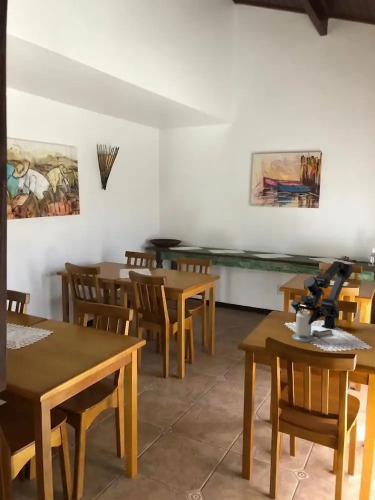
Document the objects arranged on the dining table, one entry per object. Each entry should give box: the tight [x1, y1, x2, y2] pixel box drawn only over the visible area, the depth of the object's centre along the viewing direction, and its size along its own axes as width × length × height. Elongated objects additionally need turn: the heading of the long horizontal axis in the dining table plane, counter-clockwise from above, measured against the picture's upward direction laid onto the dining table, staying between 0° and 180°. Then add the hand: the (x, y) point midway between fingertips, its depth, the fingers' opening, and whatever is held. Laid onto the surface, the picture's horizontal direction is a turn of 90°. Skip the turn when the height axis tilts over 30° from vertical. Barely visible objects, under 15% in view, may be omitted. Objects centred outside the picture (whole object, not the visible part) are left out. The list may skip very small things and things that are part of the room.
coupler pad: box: [291, 332, 315, 343], centre depth 211 cm, size 11×11×1 cm
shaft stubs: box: [311, 329, 333, 338], centre depth 218 cm, size 10×19×3 cm, turn 48°
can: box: [295, 309, 312, 336], centre depth 210 cm, size 8×8×12 cm
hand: (302, 322), depth 209 cm, fingers closed on can, 7 cm apart
